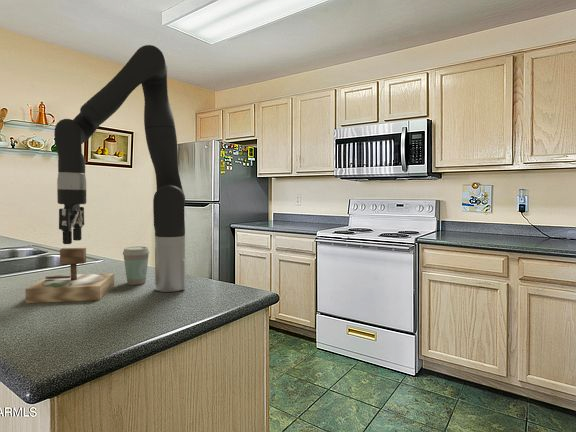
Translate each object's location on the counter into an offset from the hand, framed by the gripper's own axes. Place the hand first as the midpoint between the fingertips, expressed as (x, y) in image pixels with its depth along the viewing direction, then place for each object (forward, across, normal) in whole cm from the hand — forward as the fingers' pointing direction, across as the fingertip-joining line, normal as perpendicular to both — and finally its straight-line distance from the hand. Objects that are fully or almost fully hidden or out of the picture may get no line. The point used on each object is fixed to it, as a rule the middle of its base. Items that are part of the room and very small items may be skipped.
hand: (72, 242), depth 113 cm
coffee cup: (+16, +11, -16) cm, 25 cm away
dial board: (+16, 0, 0) cm, 16 cm away
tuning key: (+11, 0, +2) cm, 12 cm away
